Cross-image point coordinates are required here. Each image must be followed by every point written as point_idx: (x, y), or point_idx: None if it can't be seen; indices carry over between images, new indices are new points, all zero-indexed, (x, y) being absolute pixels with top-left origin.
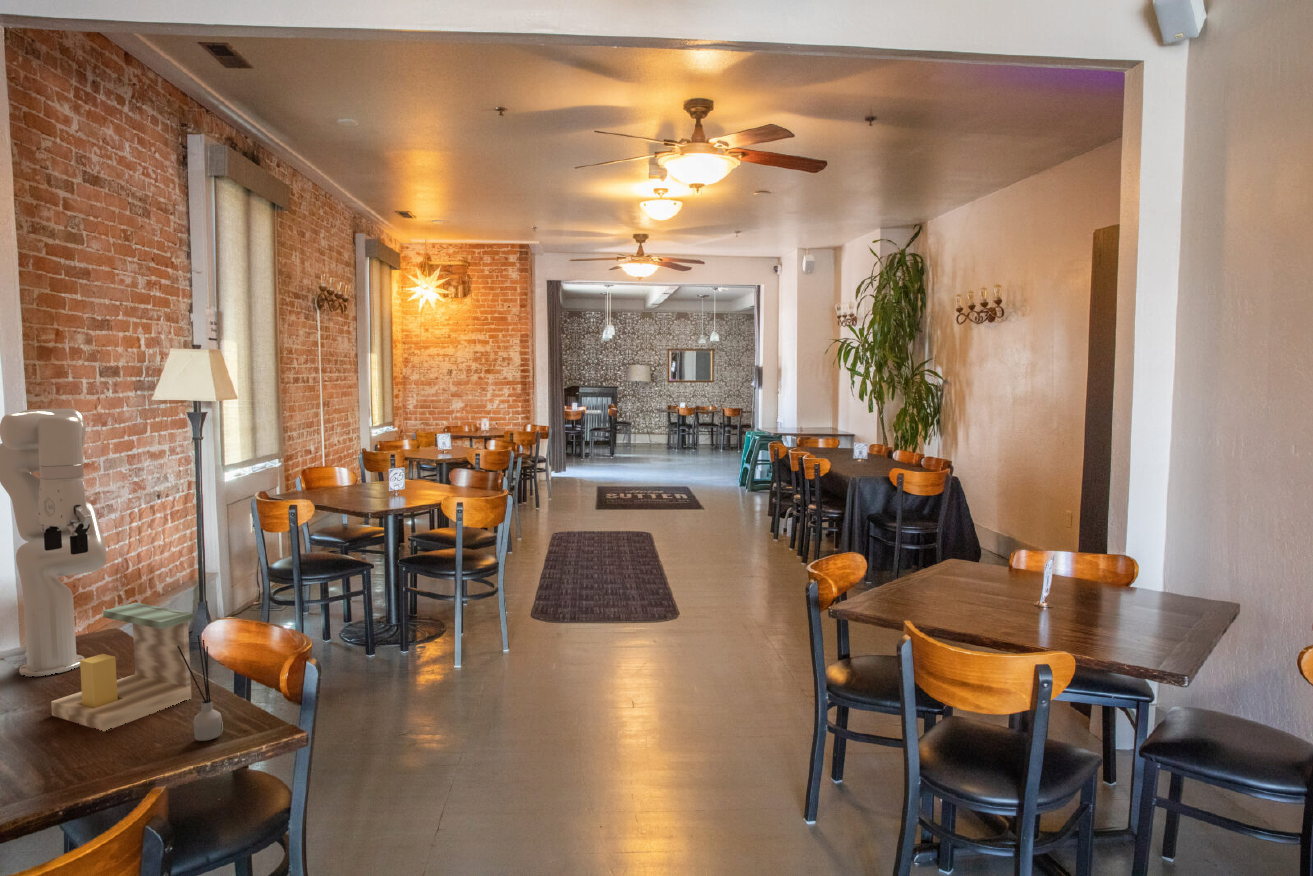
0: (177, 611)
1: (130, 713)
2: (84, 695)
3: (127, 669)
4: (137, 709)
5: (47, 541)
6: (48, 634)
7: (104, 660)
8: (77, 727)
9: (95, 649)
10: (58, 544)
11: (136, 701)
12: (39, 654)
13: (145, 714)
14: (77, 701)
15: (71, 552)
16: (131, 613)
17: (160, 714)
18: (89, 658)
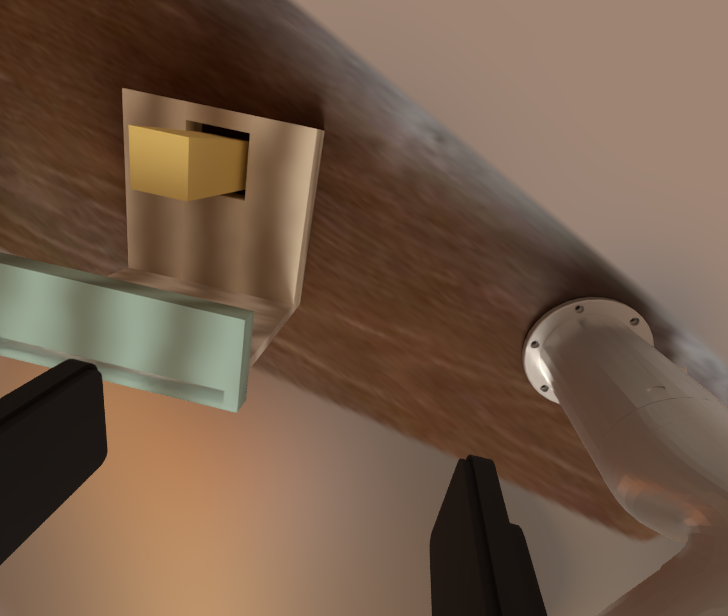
0: (18, 353)
1: None
2: (223, 138)
3: (407, 370)
4: None
5: (468, 530)
6: (592, 368)
7: (130, 158)
8: (214, 95)
9: (583, 452)
10: (437, 553)
11: None
12: (592, 333)
13: None
14: (259, 145)
15: (67, 365)
16: (119, 309)
17: None
18: (179, 157)
